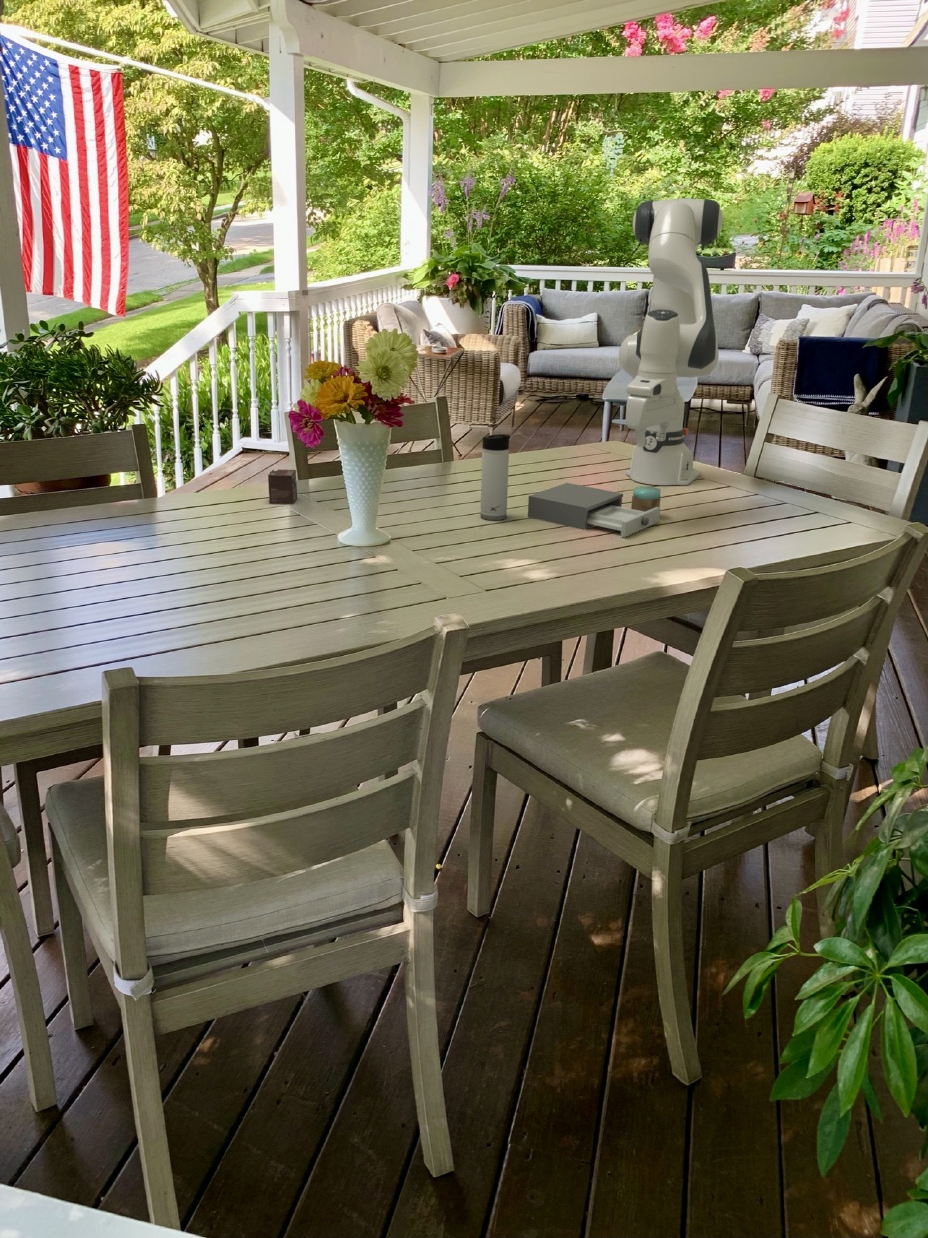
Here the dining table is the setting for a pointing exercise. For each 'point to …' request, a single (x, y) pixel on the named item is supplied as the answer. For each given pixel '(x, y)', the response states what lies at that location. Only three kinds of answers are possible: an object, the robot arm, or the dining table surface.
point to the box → (282, 486)
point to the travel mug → (494, 477)
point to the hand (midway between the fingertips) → (651, 443)
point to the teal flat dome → (646, 493)
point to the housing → (570, 504)
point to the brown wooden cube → (644, 504)
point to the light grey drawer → (623, 518)
